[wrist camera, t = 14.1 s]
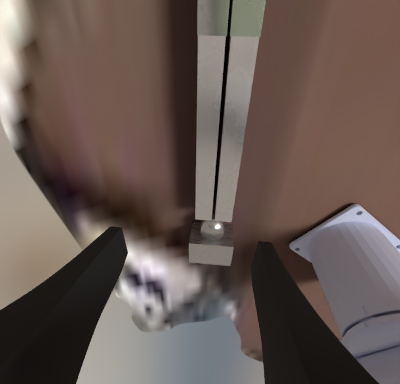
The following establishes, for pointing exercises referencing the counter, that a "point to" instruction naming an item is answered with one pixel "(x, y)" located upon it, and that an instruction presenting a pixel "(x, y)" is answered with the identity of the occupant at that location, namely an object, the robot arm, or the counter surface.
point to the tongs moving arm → (235, 108)
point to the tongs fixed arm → (209, 129)
